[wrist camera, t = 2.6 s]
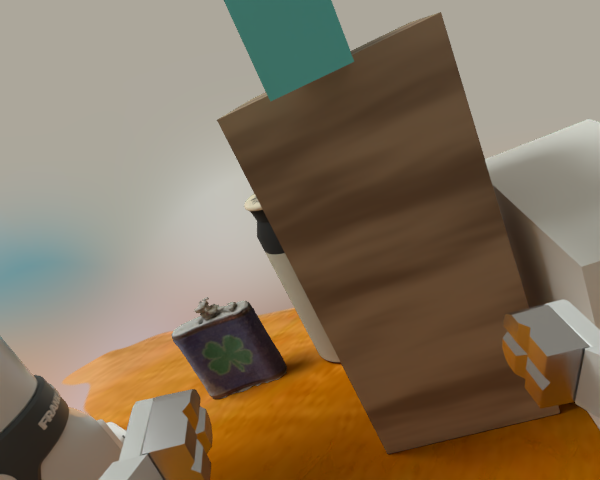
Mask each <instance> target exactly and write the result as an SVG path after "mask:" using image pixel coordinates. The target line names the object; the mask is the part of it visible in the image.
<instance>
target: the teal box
mask: <svg viewBox="0 0 600 480" xmlns="http://www.w3.org/2000/svg"><path fill="white" fill-rule="evenodd" d="M224 2H225V4H226V6H227V8H228V10H229V13H230V15H231V17H232V19H233V21H234V23H235V26H236V28H237V30H238V32H239V34H240V37H241V39H242V41H243V43H244V45H245V47H246V49H247V51H248V54H249V56H250V58H251V61H252V63H253V65H254V67H255V69H256V71H257V74H258V76H259V78H260V80H261V82H262V84H263V87H264V89H265V91H266V93H267V95H268V98H269V100H270V102H271V101H273V100H275V99H277V98H279V97H281V96H283V95H285V94H287V93H290V92H292V91H294V90H296V89H298V88H300V87H302V86H304V85H306V84H308V83H311V82H313V81H315V80H317V79H319V78H321V77H323V76H325V75H327V74H329V73H332V72H334V71H336V70H338V69H340V68H342V67H344V66H346V65H348V64H350V63H352V62H354V59H353V57H352V54H351V52H350V49H349V46H348V44H347V41H346V38H345V36H344V33H343V31H342V28H341V25H340V22H339V20H338V17H337V15H336V12H335V9H334V7H333V4H332V1H331V0H224Z"/></svg>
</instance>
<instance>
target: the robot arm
mask: <svg viewBox="0 0 600 480" xmlns="http://www.w3.org/2000/svg"><path fill="white" fill-rule="evenodd" d="M503 326H504V327H505V328H506V330H507V331H508V332H507V333H506V334H505V335H504V337H503V338H502V348H503V352H504V355H505V359H506V361H507V363H508V364H509V366H510V368H511V369H512V371H513V372H514V373H515V374H516V375H518V376H520V377H522V378H524V379H525V389H526V390H527V391H528V393H529V394H530V395H531V397H532V398H533V399H534V401H535V402H536V404H537V405H538V406H539V408H540V409H543V408H547V407H552V406H557V405H562V404H566V403H571V402H575V404H577V405H578V406H580V407H582V408H583V409H585V410H587V411H588V412H590V413H592V414H593V415H595V416H597V417H598V418H600V329H598V328H597V327H596V326H595V325H594V324H593V323H592V322H591V321H590V320H589V319H588V318H586V317H585V316H584V315H583V314H582V313H581V312H580V311H579V310H578V309H577V308H576V307H574V306H573V305H572V304H571V303H570V302H569V301H567V300H564V299H562V300H558V301H554V302H550V303H546V304H544V305H538V306H534V307H530V308H526V309H522V310H518V311H514V312H510V313H506V314H505V316H504V319H503ZM211 447H212V427H211V422H210V418H209V415H208V413H207V411H206V409H204V408H202V407H200V396H199V394H198V393H197V391H196V390H195V389H192V390H187V391H182V392H178V393H173V394H168V395H164V396H159V397H156V398H151V399H147V400H142V401H137V402H136V403H135V405H134V406H133V408H132V412H131V415H130V419H129V423H128V427H127V431H126V430H124V429H122V428H121V427H119V426H118V425H116V424H115V423H113V422H108V423H105V422H104V421H103V420H102V419H101V420H97V421H96V420H95V419H94V418H93V417H91V416H90V415H88V414H86V413H84V412H82V411H79V410H77V409H74V408H70V407H68V405H67V404H66V402H65V401H64V400H63V399H62V398H61V397H60V395H59V393H58V391H57V390H56V389H55V388H54V387H53V386H52V385H51V384H49V383H47V381H45V379H44V378H43V377H41V376H37V375H33V374H32V373H31V372H30V371H29V370H28V368H27V367H26V366H25V365H24V364H23V362H22V361H21V360H20V359H19V358H18V357H17V355H16V354H15V353H14V352H13V351H12V349H11V348H10V347H9V346H8V345H7V344H6V342H5V341H4V340H3V339H2V337H0V480H210V472H211V462H210V460H209V458H208V456H207V453H208V452H209V450H210V449H211Z"/></svg>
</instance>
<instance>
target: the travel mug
mask: <svg viewBox="0 0 600 480" xmlns="http://www.w3.org/2000/svg"><path fill="white" fill-rule="evenodd" d="M244 207H245V209H246V210H248V211H250V212H251V213H252V214H253V216H254V217H255V218H256V220H257V237H258V239H259V241H260V243H261V244H262V247H263V249H264V251H265V252H266V254H267V256H268V258H269V260H270V262H271V264H272V266H273V267H274V269H275V271H276V273H277V275H278V277H279V279H280V281H281V283H282V285H283V287H284V288H285V290H286V292H287V294H288V296H289V298H290V300H291V301H292V304H293V305H294V307H295V309H296V311H297V313H298V315H299V317H300V319H301V321H302V323H303V324H304V326H305V328H306V330H307V332H308V334H309V336H310V338H311V340H312V341H313V343H314V345H315V347H316V349H317V351H318V353H319V355H320V356H321V357H322V358H324V359H325V360H328V361H331V362H340V360H339V358H338V356H337V354H336V352H335V350H334V348H333V346H332V344H331V342H330V340H329V338H328V336H327V334H326V333H325V331H324V329H323V327H322V325H321V323H320V321H319V319H318V317H317V315H316V313H315V311H314V309H313V307H312V305H311V303H310V301H309V299H308V297H307V295H306V293H305V291H304V289H303V287H302V285H301V284H300V282H299V280H298V278H297V276H296V274H295V272H294V270H293V268H292V266H291V264H290V262H289V260H288V258H287V256H286V254H285V252H284V250H283V248H282V246H281V244H280V242H279V240H278V238H277V236H276V235H275V233H274V231H273V229H272V227H271V225H270V223H269V221H268V219H267V217H266V215H265V213H264V211H263V209H262V207H261V205H260V203H259V201H258V199H257V197H256V195H255V193H254V194H253V195H252V196H250V197H249V198H248V199H247V201H246V202H245V205H244Z"/></svg>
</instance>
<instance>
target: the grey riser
mask: <svg viewBox="0 0 600 480" xmlns="http://www.w3.org/2000/svg"><path fill="white" fill-rule="evenodd" d="M485 162H486V165H487V168H488V172H489V175H490V179H491V182H492V185H493V189H494V192H495V195H496V199H497V202H498V205H499V209H500V212H501V215H502V219H503V222H504V225H505V229H506V232H507V235H508V239H509V242H510V246H511V249H512V252H513V256H514V259H515V262H516V266H517V269H518V272H519V276H520V279H521V282H522V286H523V289H524V292H525V296H526V299H527V303H528V306H529V308H530V307H534V306H538V305H544V304H546V303H550V302H554V301H558V300H562V299H564V300H567V301H569V302H570V303H571V304H572V305H573V306H574V307H576V308H577V309H578V310H579V311H580V312H581V313H582V314H583V315H584V316H585V317H586V318H588V319H589V320H590V321H591V322H592V323H593V324H594V325H595V326H596V327H597V328H598V329H600V122H597V121H594V120H591V119H587V120H585V121H582V122H580V123H577V124H575V125H572V126H569V127H567V128H564V129H562V130H559V131H556V132H554V133H551V134H549V135H546V136H544V137H541V138H538V139H536V140H533V141H531V142H528V143H525V144H523V145H520V146H518V147H515V148H513V149H510V150H508V151H505V152H502V153H500V154H497V155H495V156H492V157H489V158H487V159H485ZM587 412H588V411H587ZM588 413H589V415H590V416H591V417H592V419H593V420H594V422H595V423H596V425H597V426H598V428H599V429H600V418H598V417H597V416H595V415H593V414H592V413H590V412H588Z"/></svg>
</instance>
